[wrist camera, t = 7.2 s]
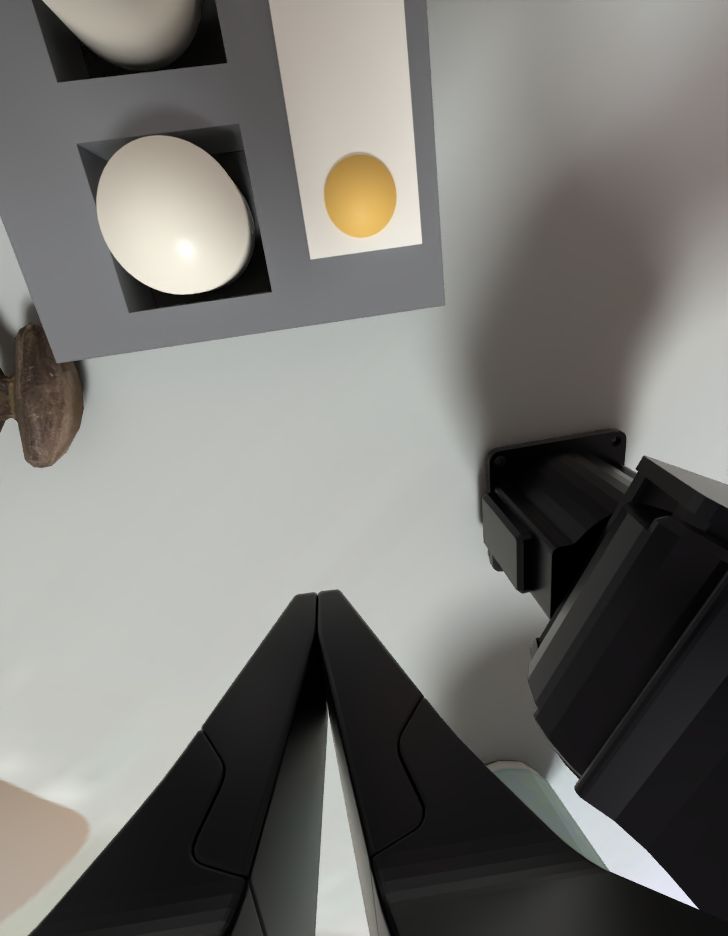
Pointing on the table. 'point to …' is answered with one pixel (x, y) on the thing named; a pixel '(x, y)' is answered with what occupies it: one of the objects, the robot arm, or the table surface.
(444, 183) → the table surface
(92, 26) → the button middle
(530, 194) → the table surface
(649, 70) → the table surface
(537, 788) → the disposable coffee cup
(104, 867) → the robot arm
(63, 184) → the button panel
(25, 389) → the brown mug
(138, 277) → the button
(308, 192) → the pattern card
